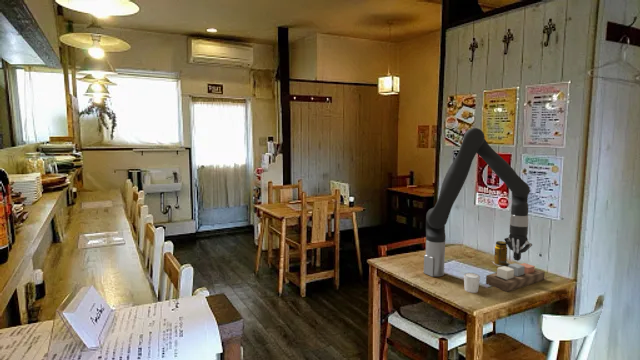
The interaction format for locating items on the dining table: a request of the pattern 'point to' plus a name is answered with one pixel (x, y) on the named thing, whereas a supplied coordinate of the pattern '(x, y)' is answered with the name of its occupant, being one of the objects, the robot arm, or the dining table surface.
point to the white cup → (471, 282)
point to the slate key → (517, 269)
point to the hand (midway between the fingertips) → (516, 260)
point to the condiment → (500, 254)
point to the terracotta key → (528, 268)
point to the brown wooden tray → (514, 280)
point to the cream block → (505, 272)
